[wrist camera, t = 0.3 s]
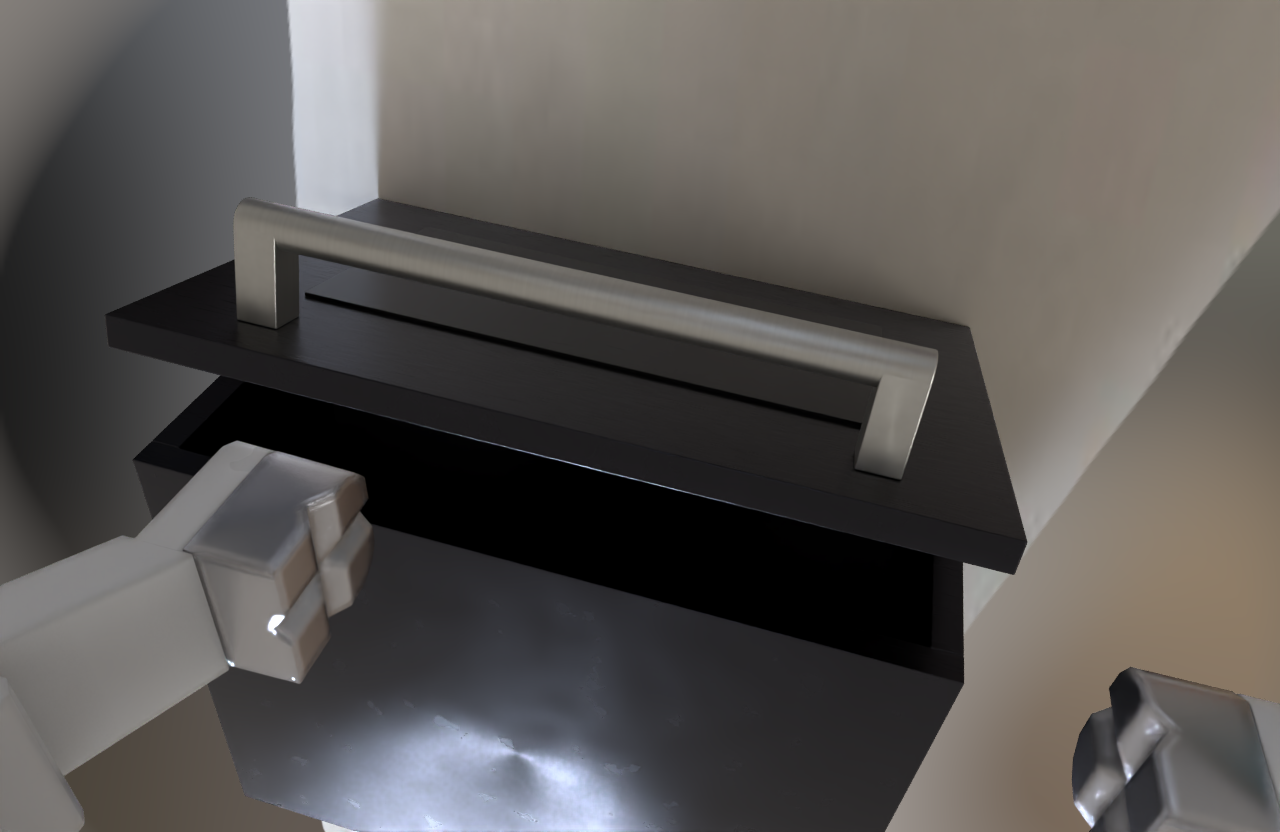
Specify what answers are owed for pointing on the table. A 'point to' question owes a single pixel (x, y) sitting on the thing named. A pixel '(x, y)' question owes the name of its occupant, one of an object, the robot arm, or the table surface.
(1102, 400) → the table surface
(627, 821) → the oven
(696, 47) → the table surface
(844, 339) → the oven door
